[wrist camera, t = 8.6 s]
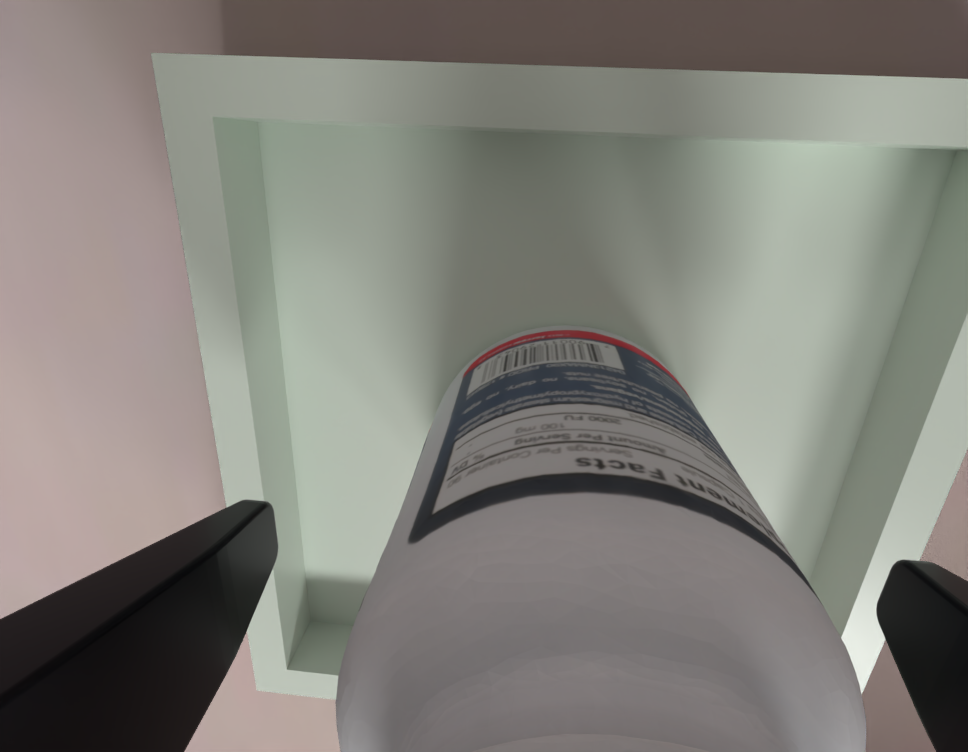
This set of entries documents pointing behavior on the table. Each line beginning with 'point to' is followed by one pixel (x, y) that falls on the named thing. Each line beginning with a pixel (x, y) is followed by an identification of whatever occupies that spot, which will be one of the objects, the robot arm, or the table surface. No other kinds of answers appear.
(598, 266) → the tray
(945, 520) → the table surface
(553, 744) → the pill bottle
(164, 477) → the table surface
